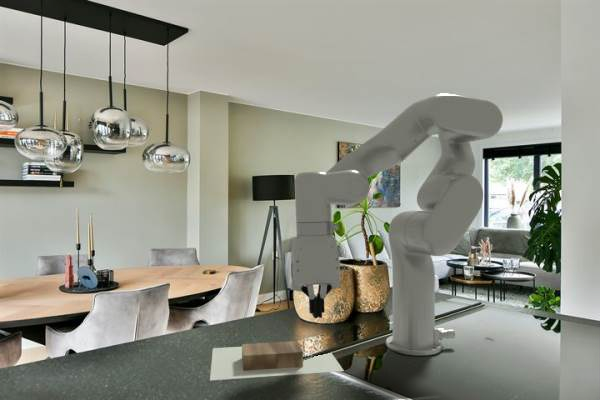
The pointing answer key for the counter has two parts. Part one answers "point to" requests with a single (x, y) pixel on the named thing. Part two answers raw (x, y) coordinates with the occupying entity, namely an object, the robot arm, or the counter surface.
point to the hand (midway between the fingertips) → (317, 316)
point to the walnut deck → (271, 355)
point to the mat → (231, 367)
